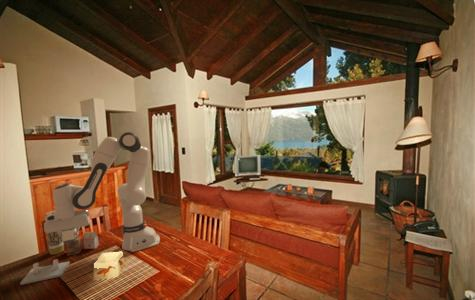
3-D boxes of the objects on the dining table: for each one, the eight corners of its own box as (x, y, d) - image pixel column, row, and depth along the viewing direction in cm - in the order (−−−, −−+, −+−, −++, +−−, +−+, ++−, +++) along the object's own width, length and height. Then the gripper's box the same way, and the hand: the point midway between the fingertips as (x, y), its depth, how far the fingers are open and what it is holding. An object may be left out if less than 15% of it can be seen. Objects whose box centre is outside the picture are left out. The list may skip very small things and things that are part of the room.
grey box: (87, 245, 135) (86, 230, 134) (98, 245, 135) (97, 230, 134) (83, 249, 131) (82, 233, 130) (95, 248, 131) (93, 233, 130)
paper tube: (55, 255, 124) (51, 214, 122) (46, 254, 125) (42, 214, 123) (67, 249, 131) (63, 210, 128) (58, 248, 132) (54, 209, 130)
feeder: (81, 249, 131) (80, 236, 130) (79, 253, 127) (78, 240, 126) (69, 251, 129) (68, 238, 128) (66, 255, 124) (65, 242, 124)
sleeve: (77, 237, 123) (75, 225, 123) (74, 241, 119) (72, 229, 118) (66, 239, 122) (64, 227, 121) (63, 243, 117) (61, 231, 116)
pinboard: (69, 263, 117) (68, 252, 116) (61, 276, 107) (60, 264, 106) (32, 270, 111) (31, 259, 110) (20, 285, 101) (19, 272, 100)
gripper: (89, 207, 125) (92, 229, 127) (46, 214, 117) (49, 237, 119) (86, 211, 119) (90, 234, 121) (40, 218, 111) (44, 243, 113)
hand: (69, 236), depth 120 cm, fingers closed on sleeve, 5 cm apart
